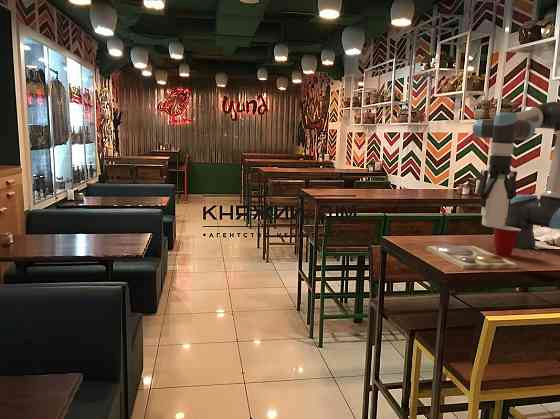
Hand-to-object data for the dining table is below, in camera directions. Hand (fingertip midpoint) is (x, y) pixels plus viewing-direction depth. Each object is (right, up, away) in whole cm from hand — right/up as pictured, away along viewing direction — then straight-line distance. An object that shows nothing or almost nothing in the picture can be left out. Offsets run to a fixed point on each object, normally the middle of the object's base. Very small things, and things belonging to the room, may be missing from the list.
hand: (493, 215), depth 180 cm
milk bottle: (0, -4, +1) cm, 4 cm away
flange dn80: (-1, -17, +3) cm, 17 cm away
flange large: (-10, -15, +14) cm, 23 cm away
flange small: (-10, -17, -1) cm, 20 cm away
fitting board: (-6, -17, +9) cm, 20 cm away
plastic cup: (+12, -17, +18) cm, 27 cm away
